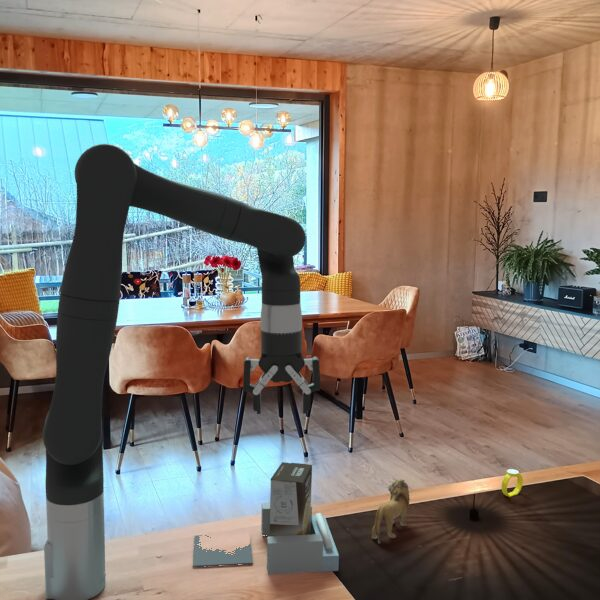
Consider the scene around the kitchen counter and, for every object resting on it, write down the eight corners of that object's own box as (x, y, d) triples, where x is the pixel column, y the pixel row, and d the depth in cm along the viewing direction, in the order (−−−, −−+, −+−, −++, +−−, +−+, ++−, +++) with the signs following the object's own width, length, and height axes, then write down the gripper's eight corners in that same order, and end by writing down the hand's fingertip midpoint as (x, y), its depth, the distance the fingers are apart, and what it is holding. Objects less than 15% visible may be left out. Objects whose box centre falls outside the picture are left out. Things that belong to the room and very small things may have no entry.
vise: (267, 574, 117) (268, 543, 116) (261, 530, 133) (261, 503, 132) (338, 570, 119) (339, 540, 118) (323, 528, 134) (324, 500, 134)
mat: (192, 567, 119) (192, 565, 119) (194, 537, 129) (194, 535, 129) (252, 564, 120) (252, 562, 120) (249, 535, 131) (249, 533, 131)
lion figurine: (388, 512, 142) (390, 473, 141) (412, 517, 140) (414, 478, 139) (367, 543, 129) (368, 500, 128) (393, 549, 127) (395, 506, 125)
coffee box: (301, 565, 120) (303, 483, 118) (268, 560, 122) (269, 479, 119) (310, 540, 129) (312, 464, 127) (279, 536, 131) (281, 460, 128)
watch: (508, 501, 150) (508, 477, 149) (498, 496, 152) (499, 472, 151) (525, 493, 153) (525, 470, 152) (515, 489, 155) (516, 466, 154)
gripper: (240, 331, 114) (242, 419, 117) (321, 331, 114) (321, 419, 117) (243, 323, 121) (244, 406, 124) (319, 323, 122) (319, 405, 124)
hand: (282, 412), depth 120 cm, fingers open, 8 cm apart
